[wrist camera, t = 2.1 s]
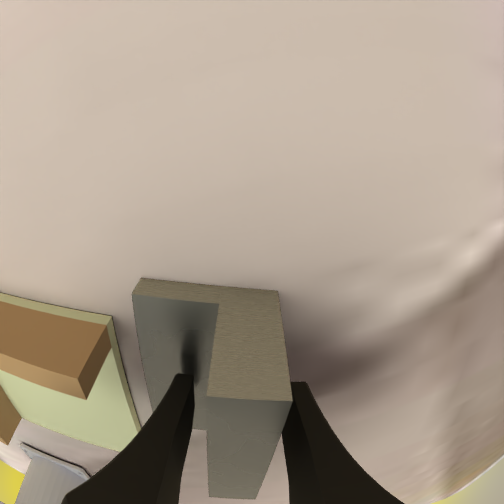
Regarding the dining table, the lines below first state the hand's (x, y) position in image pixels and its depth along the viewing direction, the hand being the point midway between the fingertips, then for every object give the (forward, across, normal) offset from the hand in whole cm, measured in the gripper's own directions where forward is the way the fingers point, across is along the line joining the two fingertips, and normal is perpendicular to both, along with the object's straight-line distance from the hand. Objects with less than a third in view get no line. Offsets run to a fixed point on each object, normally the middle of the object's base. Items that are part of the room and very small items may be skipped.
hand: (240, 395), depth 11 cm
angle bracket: (+2, +2, 0) cm, 2 cm away
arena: (+2, +12, +4) cm, 12 cm away
